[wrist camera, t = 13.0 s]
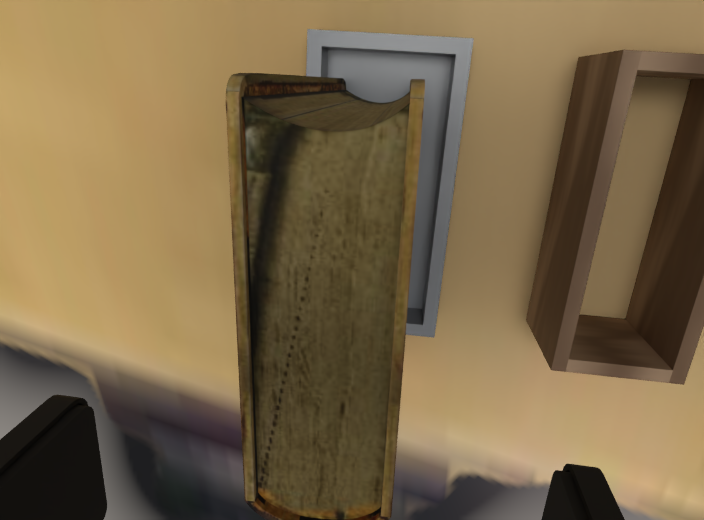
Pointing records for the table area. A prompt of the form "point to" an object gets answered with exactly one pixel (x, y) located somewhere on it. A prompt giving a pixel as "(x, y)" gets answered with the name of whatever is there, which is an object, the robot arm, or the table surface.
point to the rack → (585, 219)
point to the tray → (436, 139)
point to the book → (320, 289)
